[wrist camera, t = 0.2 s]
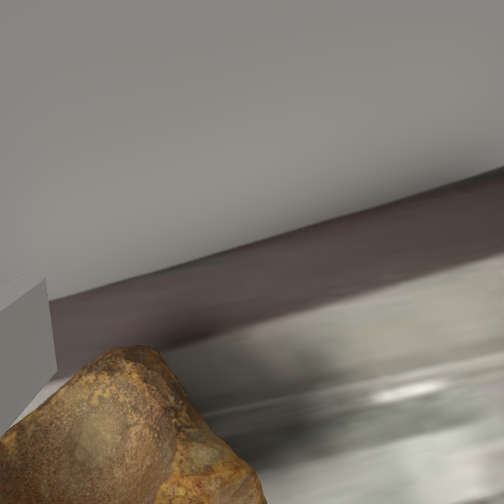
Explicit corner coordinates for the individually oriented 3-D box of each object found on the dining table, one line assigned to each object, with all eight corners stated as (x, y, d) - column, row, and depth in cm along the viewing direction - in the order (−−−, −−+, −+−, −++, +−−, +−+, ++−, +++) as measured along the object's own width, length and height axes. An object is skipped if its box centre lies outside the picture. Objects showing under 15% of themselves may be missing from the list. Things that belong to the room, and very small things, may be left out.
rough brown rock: (259, 349, 49) (245, 305, 35) (276, 537, 42) (267, 572, 28) (37, 371, 50) (-61, 337, 36) (18, 558, 43) (-109, 602, 30)
